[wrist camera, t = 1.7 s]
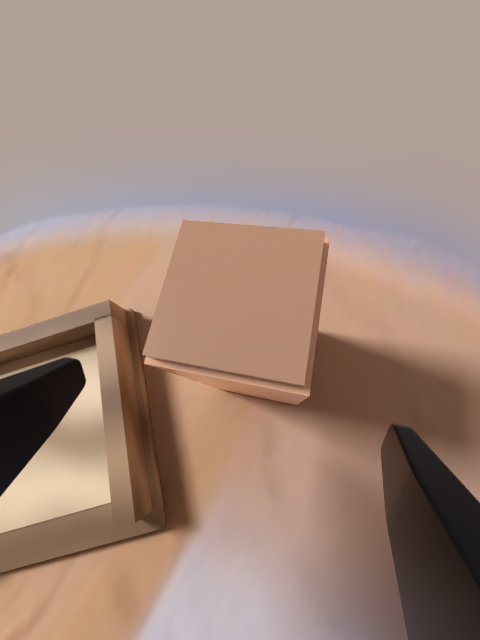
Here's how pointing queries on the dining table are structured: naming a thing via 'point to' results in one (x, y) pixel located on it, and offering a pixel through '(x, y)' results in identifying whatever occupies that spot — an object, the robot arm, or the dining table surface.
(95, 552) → the dining table surface
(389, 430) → the robot arm
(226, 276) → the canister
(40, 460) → the square wooden tray
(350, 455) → the dining table surface
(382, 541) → the dining table surface
